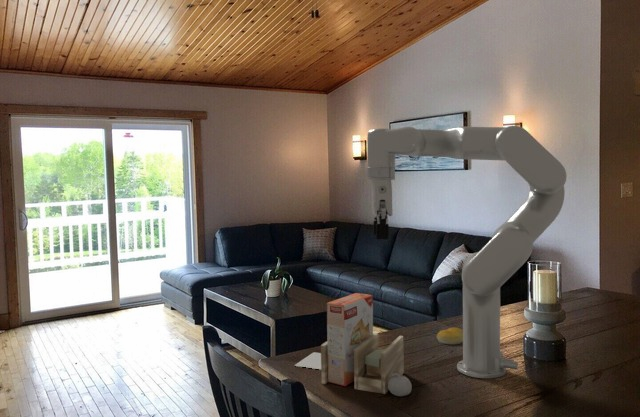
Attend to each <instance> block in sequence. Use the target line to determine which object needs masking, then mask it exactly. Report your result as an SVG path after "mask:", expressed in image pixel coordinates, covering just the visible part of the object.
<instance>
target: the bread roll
mask: <svg viewBox="0 0 640 417" xmlns="http://www.w3.org/2000/svg"><path fill="white" fill-rule="evenodd" d="M436 339H437V341H438V343H440V344H444V345H453V346H454V345H460V344H463V329H461V328H459V327H454V326H453V327H449V328H447V329H442V330H439V332H438V333H437V334H436Z"/></svg>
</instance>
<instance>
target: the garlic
mask: <svg viewBox="0 0 640 417" xmlns="http://www.w3.org/2000/svg"><path fill="white" fill-rule="evenodd" d="M395 375H396V376H395ZM392 376H393V377H391V378H390V380H389V382H388V389H389V390H388V391H389V392H390V393H391V394H392V395H394V396H396V397H405V396H408V395H410V393H411V392H412V387H413V386H412V383H411V381H410V379H409V378H408V377H407V376H406V375H403V374H402V375H399V374H398V373H394V374H392Z"/></svg>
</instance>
